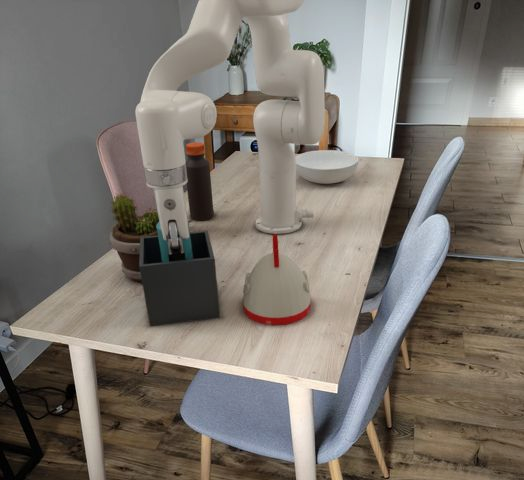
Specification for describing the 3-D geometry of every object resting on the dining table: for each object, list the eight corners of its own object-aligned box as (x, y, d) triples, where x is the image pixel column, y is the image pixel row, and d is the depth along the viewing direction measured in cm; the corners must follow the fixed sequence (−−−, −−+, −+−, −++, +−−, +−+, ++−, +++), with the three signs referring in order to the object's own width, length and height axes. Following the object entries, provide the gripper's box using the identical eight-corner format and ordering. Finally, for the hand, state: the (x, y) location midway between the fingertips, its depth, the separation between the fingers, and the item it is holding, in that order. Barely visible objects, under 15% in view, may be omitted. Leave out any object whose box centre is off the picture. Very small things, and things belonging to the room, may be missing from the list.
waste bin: (213, 285, 119) (207, 230, 111) (220, 317, 108) (214, 258, 100) (149, 292, 117) (140, 237, 110) (149, 326, 106) (139, 266, 98)
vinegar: (186, 220, 152) (178, 147, 140) (195, 211, 157) (187, 140, 145) (209, 222, 150) (202, 148, 139) (217, 213, 155) (211, 141, 144)
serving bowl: (282, 183, 176) (281, 162, 172) (314, 167, 189) (314, 147, 185) (338, 194, 165) (339, 171, 162) (367, 176, 179) (369, 154, 175)
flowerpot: (189, 261, 130) (179, 178, 118) (167, 291, 117) (154, 202, 106) (133, 257, 132) (118, 176, 121) (106, 286, 120) (87, 199, 109)
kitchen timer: (307, 289, 116) (308, 223, 107) (313, 323, 105) (315, 252, 96) (243, 292, 116) (239, 226, 107) (243, 326, 105) (238, 255, 96)
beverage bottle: (192, 303, 108) (180, 208, 97) (161, 301, 109) (146, 206, 98) (202, 288, 113) (191, 195, 102) (172, 286, 114) (159, 194, 103)
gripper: (189, 188, 90) (200, 282, 101) (184, 160, 104) (194, 245, 115) (145, 192, 89) (160, 286, 100) (145, 163, 103) (158, 249, 114)
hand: (178, 263), depth 107 cm, fingers closed on beverage bottle, 6 cm apart
